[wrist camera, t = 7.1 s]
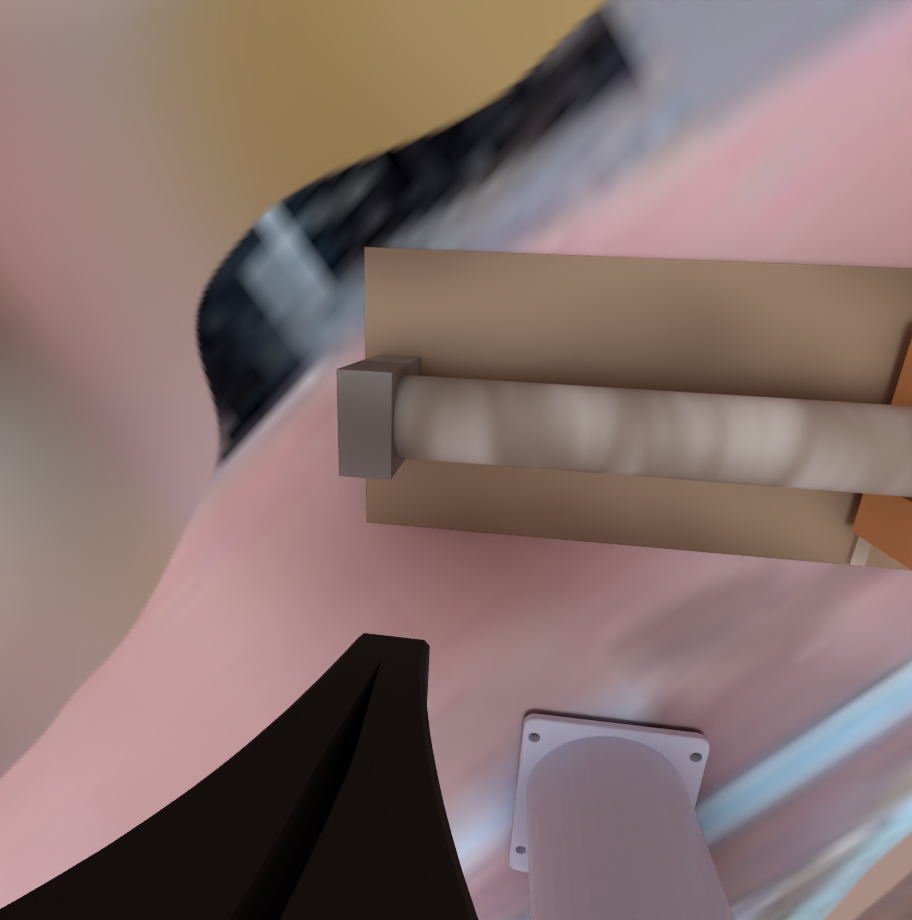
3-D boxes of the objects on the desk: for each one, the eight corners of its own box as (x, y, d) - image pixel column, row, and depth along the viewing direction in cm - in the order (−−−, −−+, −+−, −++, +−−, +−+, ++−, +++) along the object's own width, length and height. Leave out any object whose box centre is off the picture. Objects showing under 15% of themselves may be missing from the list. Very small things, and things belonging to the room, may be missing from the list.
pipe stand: (1066, 572, 18) (1293, 678, 13) (373, 512, 20) (325, 582, 15) (1200, 283, 15) (1566, 269, 10) (372, 250, 17) (313, 224, 12)
